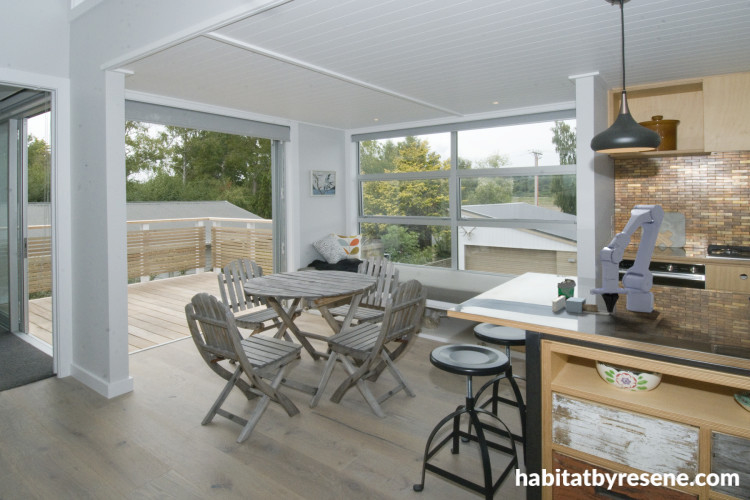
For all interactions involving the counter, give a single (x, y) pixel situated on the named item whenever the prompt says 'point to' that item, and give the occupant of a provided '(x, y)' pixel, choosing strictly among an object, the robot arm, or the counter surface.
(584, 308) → the dowel
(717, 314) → the counter surface
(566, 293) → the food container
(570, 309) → the block
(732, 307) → the counter surface
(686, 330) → the counter surface
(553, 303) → the wall
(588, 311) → the cradle
